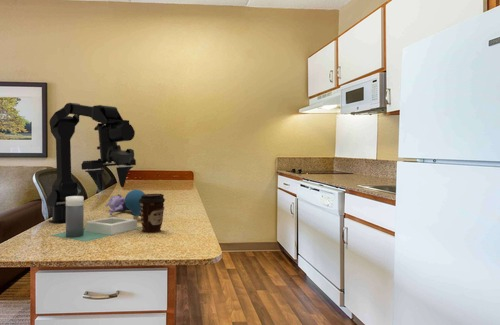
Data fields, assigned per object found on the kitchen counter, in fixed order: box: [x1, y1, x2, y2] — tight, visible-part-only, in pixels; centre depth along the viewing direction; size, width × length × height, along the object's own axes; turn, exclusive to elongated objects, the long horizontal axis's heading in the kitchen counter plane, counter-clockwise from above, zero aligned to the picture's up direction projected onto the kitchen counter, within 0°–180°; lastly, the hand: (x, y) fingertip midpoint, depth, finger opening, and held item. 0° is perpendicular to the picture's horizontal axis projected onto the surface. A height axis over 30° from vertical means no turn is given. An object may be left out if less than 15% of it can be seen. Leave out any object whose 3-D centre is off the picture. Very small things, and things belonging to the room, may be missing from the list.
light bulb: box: [124, 189, 146, 221], centre depth 155 cm, size 8×8×12 cm
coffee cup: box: [139, 193, 166, 234], centre depth 132 cm, size 9×8×13 cm
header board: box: [49, 216, 142, 243], centre depth 130 cm, size 16×24×4 cm, turn 153°
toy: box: [104, 194, 141, 216], centre depth 172 cm, size 26×9×30 cm
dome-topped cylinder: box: [65, 195, 85, 238], centre depth 123 cm, size 5×5×12 cm
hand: (112, 188), depth 137 cm, fingers open, 9 cm apart
